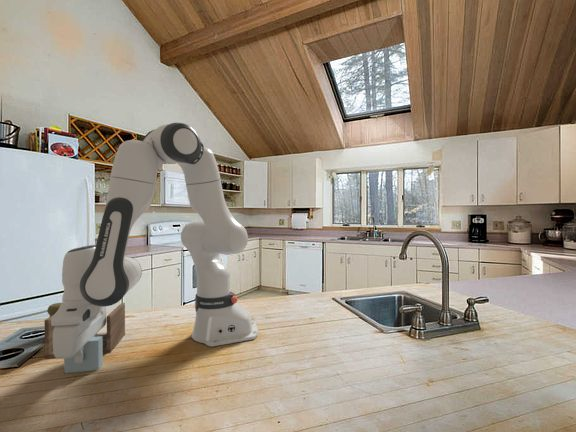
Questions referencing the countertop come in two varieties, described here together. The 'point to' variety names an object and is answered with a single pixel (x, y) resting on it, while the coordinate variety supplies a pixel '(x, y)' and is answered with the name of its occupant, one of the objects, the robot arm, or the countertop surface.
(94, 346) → the door panel
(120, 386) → the countertop surface
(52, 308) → the cork
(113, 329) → the cabinet
